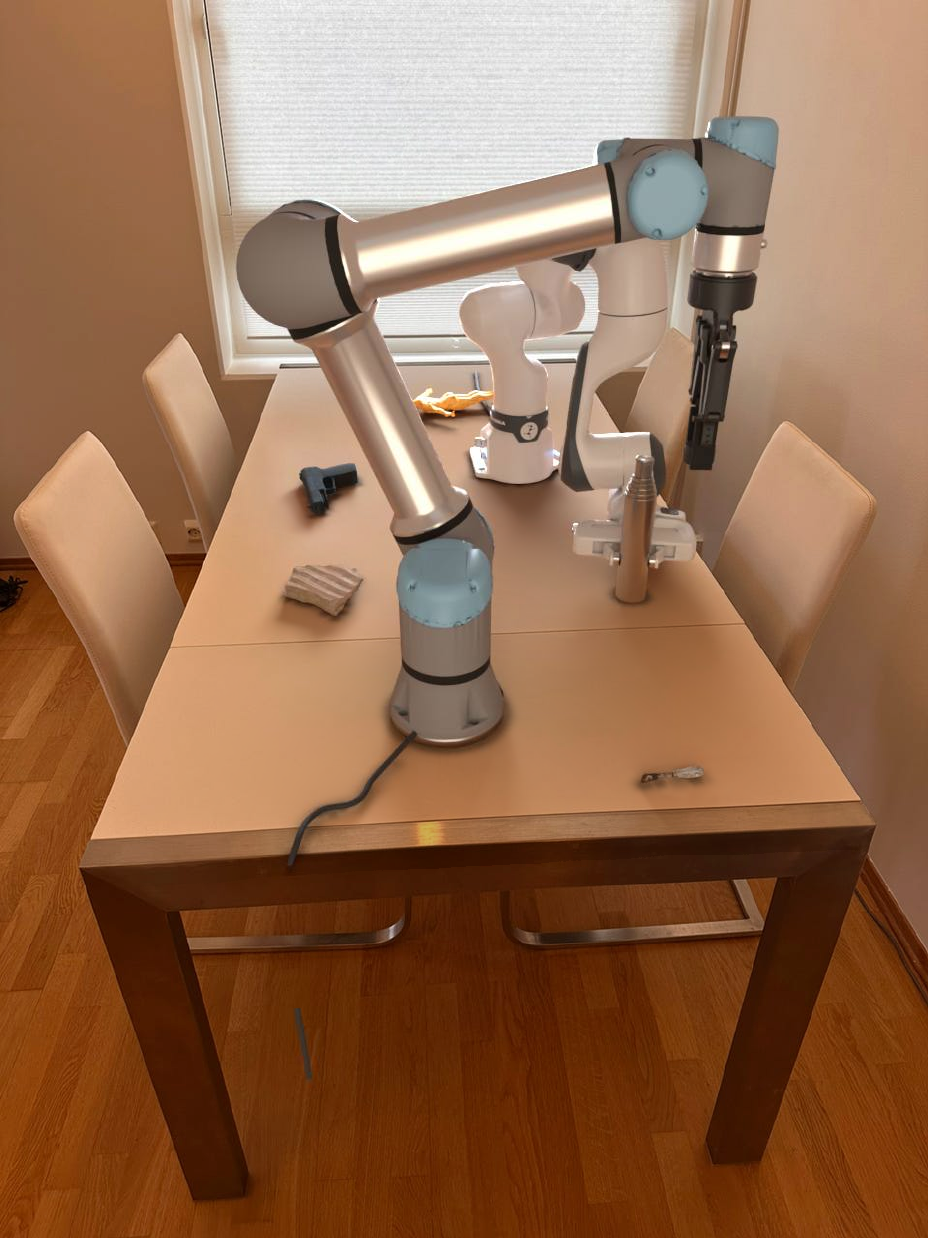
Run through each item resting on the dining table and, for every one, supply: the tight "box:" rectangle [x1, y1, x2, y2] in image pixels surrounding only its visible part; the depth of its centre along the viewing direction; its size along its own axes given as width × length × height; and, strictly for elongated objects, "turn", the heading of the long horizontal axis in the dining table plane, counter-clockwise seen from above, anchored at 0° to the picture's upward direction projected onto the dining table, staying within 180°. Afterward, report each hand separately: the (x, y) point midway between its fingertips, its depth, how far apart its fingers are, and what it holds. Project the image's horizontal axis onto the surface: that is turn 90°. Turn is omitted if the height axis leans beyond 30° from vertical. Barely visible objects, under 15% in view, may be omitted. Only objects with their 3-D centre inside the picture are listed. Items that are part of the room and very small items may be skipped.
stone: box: [283, 564, 364, 617], centre depth 148 cm, size 13×12×3 cm
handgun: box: [298, 462, 359, 515], centre depth 181 cm, size 3×18×12 cm
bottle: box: [614, 455, 658, 604], centre depth 141 cm, size 5×5×24 cm
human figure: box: [413, 385, 493, 418], centre depth 225 cm, size 20×20×4 cm
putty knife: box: [640, 765, 705, 784], centre depth 109 cm, size 1×8×2 cm, turn 103°
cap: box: [682, 440, 717, 466], centre depth 114 cm, size 4×4×2 cm
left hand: (697, 461), depth 115 cm, fingers closed on cap, 4 cm apart
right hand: (634, 563), depth 143 cm, fingers closed on bottle, 5 cm apart
